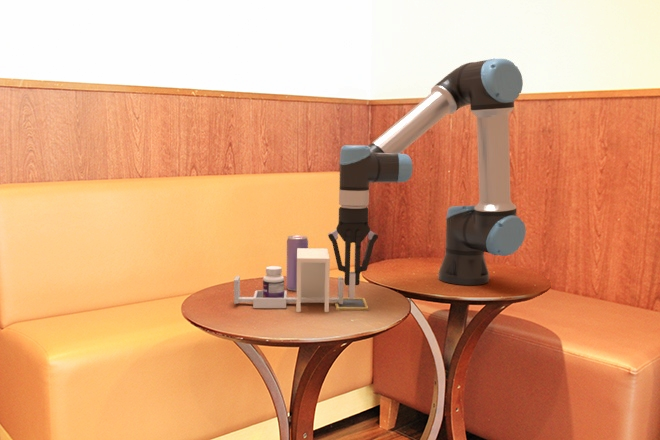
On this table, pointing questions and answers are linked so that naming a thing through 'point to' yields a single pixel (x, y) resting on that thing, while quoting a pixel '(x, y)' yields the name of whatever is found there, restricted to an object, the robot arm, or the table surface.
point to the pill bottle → (273, 283)
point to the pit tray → (352, 304)
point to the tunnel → (312, 274)
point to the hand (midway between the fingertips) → (351, 297)
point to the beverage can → (294, 259)
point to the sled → (281, 302)
